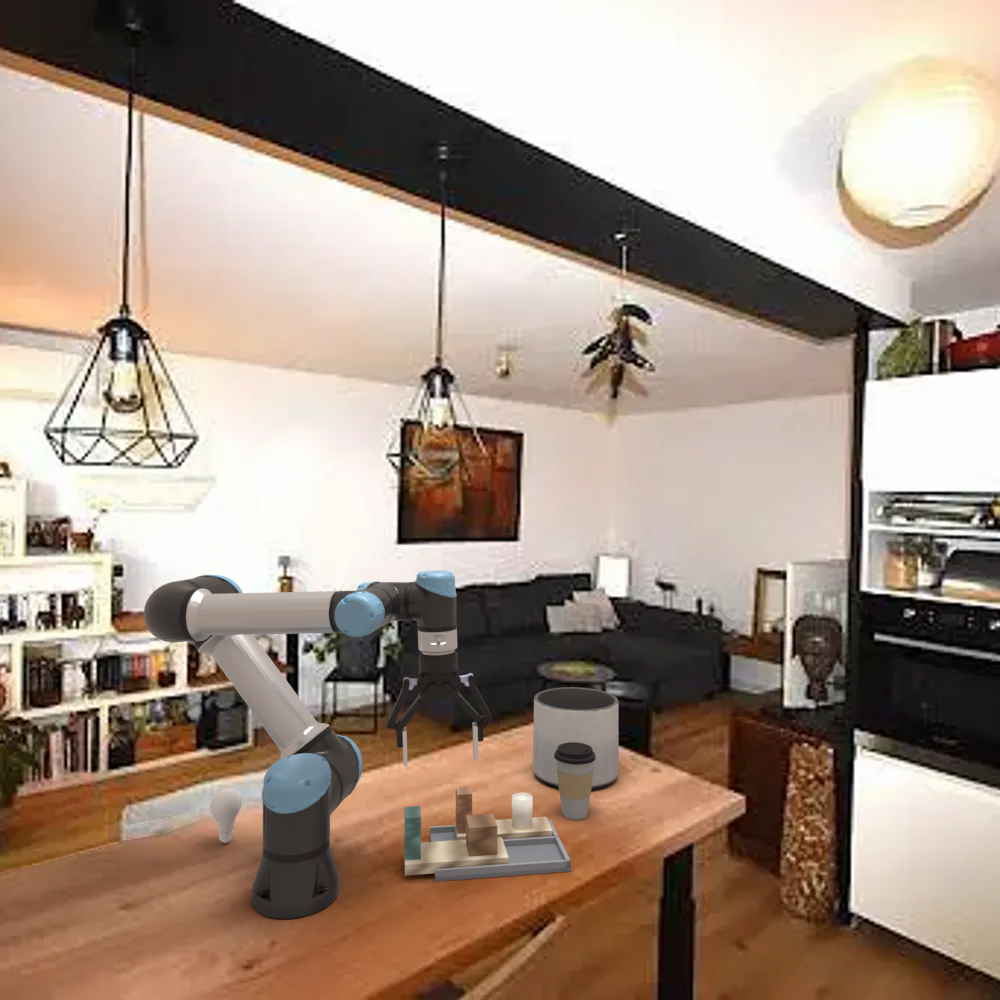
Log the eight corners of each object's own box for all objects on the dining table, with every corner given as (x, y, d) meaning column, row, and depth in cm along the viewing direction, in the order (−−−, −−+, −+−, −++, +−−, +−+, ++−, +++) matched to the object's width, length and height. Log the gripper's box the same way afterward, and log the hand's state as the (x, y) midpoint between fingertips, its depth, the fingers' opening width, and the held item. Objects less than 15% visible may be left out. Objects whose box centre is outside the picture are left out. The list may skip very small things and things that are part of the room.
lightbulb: (204, 842, 147) (204, 789, 147) (232, 832, 152) (233, 781, 152) (218, 852, 143) (218, 798, 143) (246, 842, 147) (247, 789, 147)
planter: (536, 757, 197) (537, 685, 197) (617, 762, 194) (618, 688, 193) (528, 789, 175) (529, 708, 175) (619, 795, 172) (620, 712, 172)
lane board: (435, 881, 133) (435, 870, 133) (430, 835, 151) (430, 826, 151) (570, 871, 137) (570, 860, 137) (550, 828, 155) (550, 818, 154)
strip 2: (457, 846, 144) (458, 797, 144) (455, 831, 150) (455, 784, 150) (552, 840, 147) (552, 791, 147) (545, 826, 153) (546, 779, 153)
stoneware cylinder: (513, 830, 147) (513, 801, 147) (509, 821, 151) (510, 792, 151) (534, 829, 147) (534, 800, 147) (530, 819, 152) (530, 791, 152)
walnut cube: (468, 856, 136) (469, 827, 136) (465, 842, 142) (466, 815, 142) (497, 854, 137) (497, 826, 137) (493, 841, 142) (493, 813, 142)
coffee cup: (593, 825, 156) (594, 757, 156) (551, 821, 158) (551, 753, 158) (596, 807, 165) (597, 742, 165) (556, 803, 167) (556, 739, 167)
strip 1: (404, 875, 133) (405, 822, 133) (404, 853, 141) (404, 803, 141) (508, 867, 136) (508, 815, 136) (501, 847, 144) (502, 797, 144)
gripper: (371, 658, 132) (374, 773, 132) (504, 651, 136) (507, 762, 136) (373, 650, 140) (376, 758, 140) (499, 643, 143) (502, 749, 143)
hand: (440, 761), depth 138 cm, fingers open, 13 cm apart
